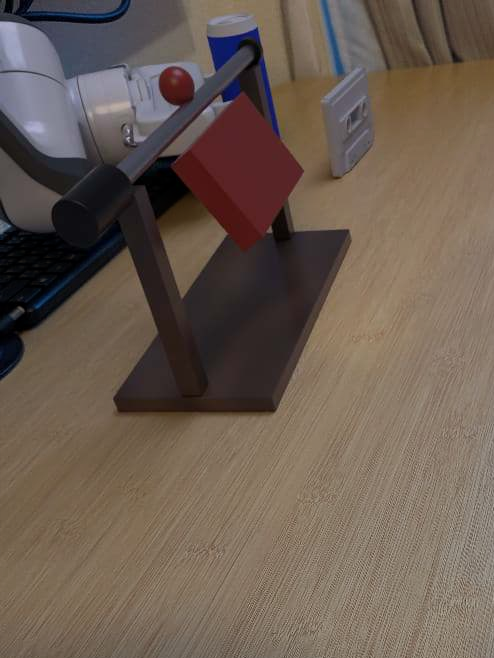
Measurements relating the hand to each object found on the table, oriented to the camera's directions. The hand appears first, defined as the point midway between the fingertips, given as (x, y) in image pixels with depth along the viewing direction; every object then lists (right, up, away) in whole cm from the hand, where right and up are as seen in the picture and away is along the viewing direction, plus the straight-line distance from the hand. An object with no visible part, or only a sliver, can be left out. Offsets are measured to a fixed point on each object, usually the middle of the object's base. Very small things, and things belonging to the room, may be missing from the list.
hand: (253, 92), depth 86 cm
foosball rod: (+6, -24, -27) cm, 37 cm away
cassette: (+10, -4, +6) cm, 13 cm away
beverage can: (0, -6, +5) cm, 8 cm away
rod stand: (+3, -29, -18) cm, 34 cm away
